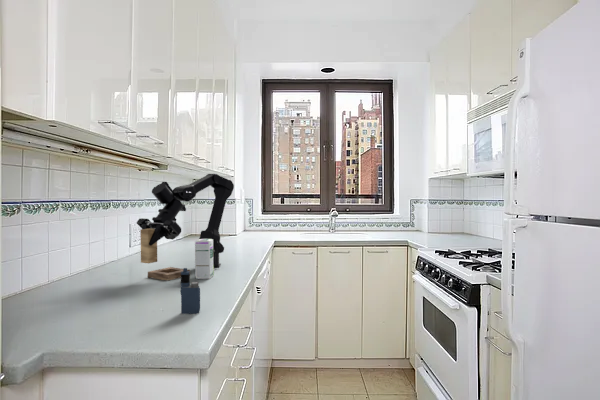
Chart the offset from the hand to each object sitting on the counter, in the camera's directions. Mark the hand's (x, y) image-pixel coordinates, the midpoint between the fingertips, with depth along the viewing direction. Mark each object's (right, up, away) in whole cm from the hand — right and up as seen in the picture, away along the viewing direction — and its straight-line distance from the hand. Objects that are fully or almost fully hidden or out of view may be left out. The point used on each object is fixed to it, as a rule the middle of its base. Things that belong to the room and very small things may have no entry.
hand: (145, 244), depth 144 cm
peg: (+1, -7, +1) cm, 7 cm away
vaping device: (+26, -15, -36) cm, 47 cm away
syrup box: (+19, -14, +8) cm, 25 cm away
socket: (+5, -13, +10) cm, 17 cm away
